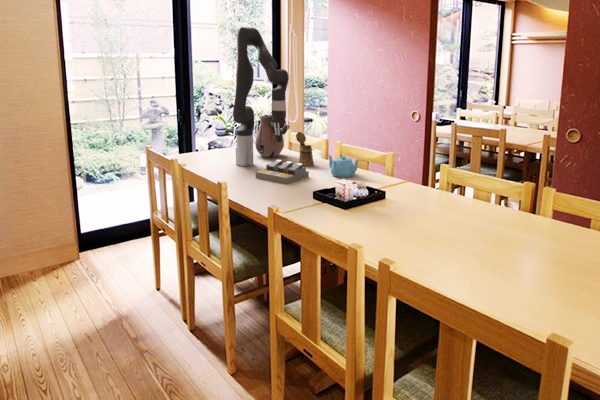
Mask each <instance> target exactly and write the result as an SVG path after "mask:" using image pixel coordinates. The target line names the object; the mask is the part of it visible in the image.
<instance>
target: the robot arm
mask: <svg viewBox="0 0 600 400" xmlns="http://www.w3.org/2000/svg"><path fill="white" fill-rule="evenodd" d="M236 34H237V35H236V44H237V45H236V46H237V50H236V51H237V59H236V61H237V62H236V64H237V65H236V66H237V67H236V76H235V77H236V81H235V94H234V95H235V96H234V102H233V104H234V105H233V110H232V116H233V121H234V122H235V123H236V124H240V125H239V127H238V128H237V129H236V133H235V134H236V147H235V164H236V165H238V166H241V167H250V166H253V165H254V130H255V112H254V109H253V108H252V106H249V105H247V98H248V96H249V93H250V91H251V89H252V88H253V85H254V84H253V83H254V76H255V75H254V68H253V66H252V63H251V61H250V59H249V56H248V46H253V47H254V48H255V49H256V50H257V53H258V54H257V57H258V62H259V63H260V65H261V66H262V68H263V69H264V71H265V73H266V77H267V80H268V81H269V82H270V83H271V84H273V85H277V87H275V88H273V89H272V90H271V115H272V118H273V119H272V123H270V124H269V127H270V129H271V130H272V132H273V134H276V141H277V142H281V141H282V135H283V136H284V135H285V134H286V133H287V131H288V130H289V129H290V125H289V124H287V121H286V118H287V103H286V91H287V88H288V85H289V83H288V82H289V74H288V71H287V70H286V69H278V63H277V61H276V59H275V58H274V57H273V55H272V54H271V53H270V51H269V49H268V47H267V46H266V43H265V42H264V40H263V38H262V35H261V33H260V31H259V30H258V28H255V27H249V26H242V27H239V28H238V31H237V33H236ZM277 128H278V129H277Z"/></svg>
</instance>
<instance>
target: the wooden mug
mask: <svg viewBox="0 0 600 400" xmlns="http://www.w3.org/2000/svg"><path fill="white" fill-rule="evenodd" d="M295 138H296V140H297V141H296V142H298V143H299V158H298V162H297V163H301V164H304V167H306V168H309V167H313V166H314V165H315V162H314V158H313V147H312V145H310V144H308V145H307V144H306V143H305V142H306V139H307V138H306V135H305V134H304V133H303V132H301V131H298V132H297V133H296V135H295Z"/></svg>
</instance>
